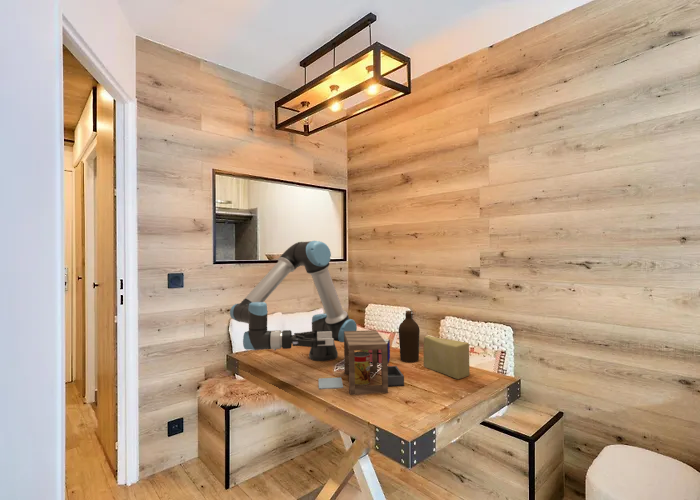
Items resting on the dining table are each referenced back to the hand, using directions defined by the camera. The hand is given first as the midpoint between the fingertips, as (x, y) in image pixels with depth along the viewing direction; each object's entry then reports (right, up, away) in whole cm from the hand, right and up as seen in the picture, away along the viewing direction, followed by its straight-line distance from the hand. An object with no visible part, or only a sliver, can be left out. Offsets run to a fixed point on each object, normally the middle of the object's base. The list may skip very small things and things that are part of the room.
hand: (332, 338), depth 157 cm
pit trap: (+25, -19, +2) cm, 32 cm away
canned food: (+12, -19, +1) cm, 23 cm away
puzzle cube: (+22, -19, +32) cm, 44 cm away
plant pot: (+17, -20, +52) cm, 58 cm away
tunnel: (+14, -19, +1) cm, 23 cm away
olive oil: (+38, -19, +32) cm, 53 cm away
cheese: (+50, -19, +13) cm, 55 cm away
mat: (-1, -19, 0) cm, 19 cm away
